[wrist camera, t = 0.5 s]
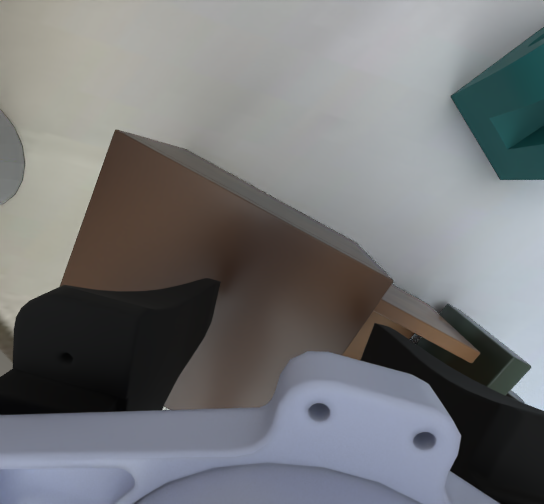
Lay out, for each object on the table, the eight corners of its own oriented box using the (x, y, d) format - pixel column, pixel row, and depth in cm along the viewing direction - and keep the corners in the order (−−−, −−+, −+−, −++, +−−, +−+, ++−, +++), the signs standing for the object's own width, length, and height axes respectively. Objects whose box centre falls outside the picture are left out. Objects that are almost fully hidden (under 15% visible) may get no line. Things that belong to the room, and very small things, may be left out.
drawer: (507, 336, 22) (599, 402, 15) (418, 439, 25) (463, 533, 18) (303, 224, 21) (307, 244, 14) (235, 344, 24) (212, 407, 17)
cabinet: (356, 243, 22) (394, 281, 14) (277, 367, 25) (269, 459, 17) (184, 148, 21) (114, 128, 13) (125, 288, 24) (38, 344, 16)
